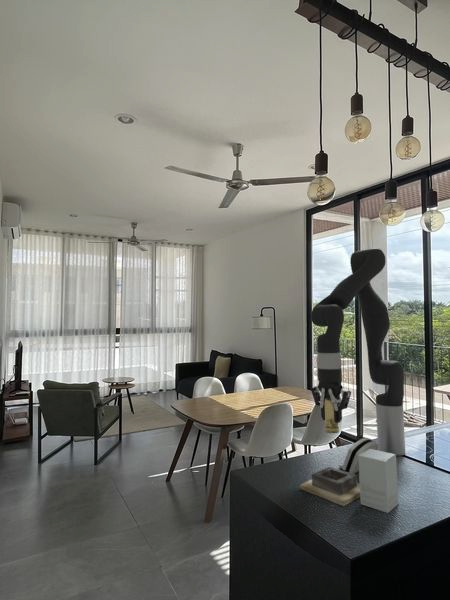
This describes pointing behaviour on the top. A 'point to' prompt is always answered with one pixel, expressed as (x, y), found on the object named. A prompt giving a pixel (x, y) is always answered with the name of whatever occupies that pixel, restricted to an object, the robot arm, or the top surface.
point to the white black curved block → (354, 451)
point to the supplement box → (378, 480)
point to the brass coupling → (330, 417)
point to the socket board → (332, 496)
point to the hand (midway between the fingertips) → (331, 420)
